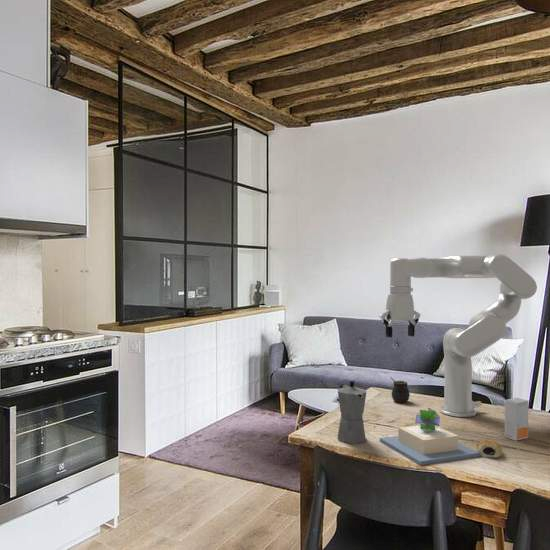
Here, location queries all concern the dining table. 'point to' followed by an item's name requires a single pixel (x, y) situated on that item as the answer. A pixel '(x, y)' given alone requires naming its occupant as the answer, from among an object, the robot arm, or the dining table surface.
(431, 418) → the geometric puzzle
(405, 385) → the mate gourd
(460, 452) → the board
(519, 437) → the skincare box
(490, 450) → the pastry
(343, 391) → the coffeepot
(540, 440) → the dining table surface
